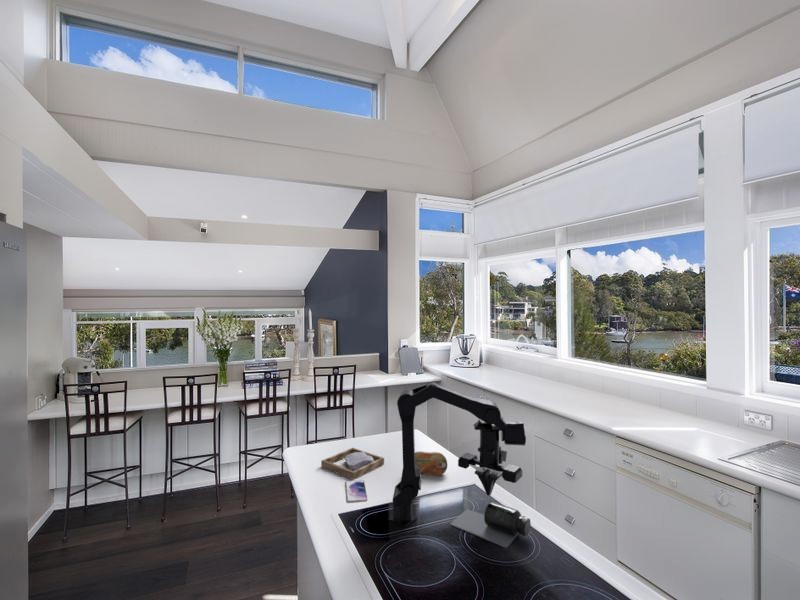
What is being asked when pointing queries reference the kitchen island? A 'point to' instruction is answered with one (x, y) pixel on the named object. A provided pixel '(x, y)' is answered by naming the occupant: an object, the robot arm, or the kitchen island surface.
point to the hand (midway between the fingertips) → (488, 494)
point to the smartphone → (355, 491)
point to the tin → (431, 463)
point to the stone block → (358, 460)
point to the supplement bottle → (506, 519)
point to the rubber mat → (481, 528)
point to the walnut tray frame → (346, 472)
